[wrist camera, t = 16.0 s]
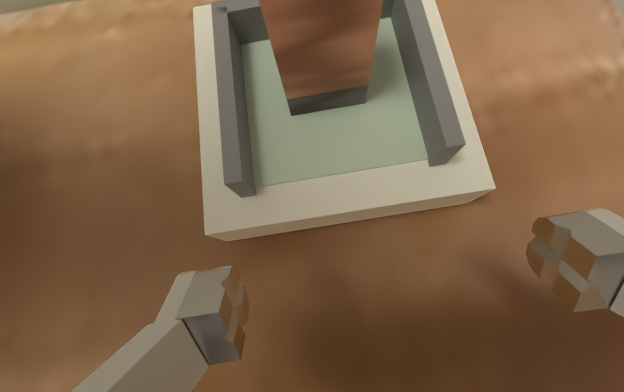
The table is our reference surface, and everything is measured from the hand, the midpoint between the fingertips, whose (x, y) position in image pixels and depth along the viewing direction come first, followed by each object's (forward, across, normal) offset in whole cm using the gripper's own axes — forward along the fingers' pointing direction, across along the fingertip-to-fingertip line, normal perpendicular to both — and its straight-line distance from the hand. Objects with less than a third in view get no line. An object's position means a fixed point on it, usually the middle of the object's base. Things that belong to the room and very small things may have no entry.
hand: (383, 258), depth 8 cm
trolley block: (+15, 0, -2) cm, 15 cm away
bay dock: (+18, 0, +1) cm, 18 cm away
